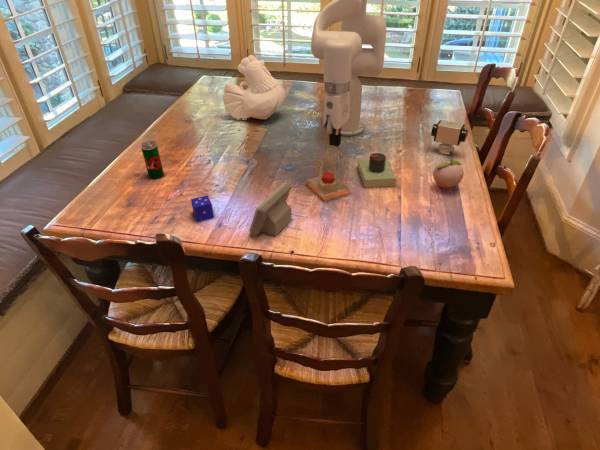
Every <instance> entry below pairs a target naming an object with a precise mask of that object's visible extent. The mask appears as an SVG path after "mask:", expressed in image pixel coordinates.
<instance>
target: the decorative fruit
mask: <svg viewBox="0 0 600 450" xmlns="http://www.w3.org/2000/svg"><path fill="white" fill-rule="evenodd" d="M461 165H462V166H463V163H462V162H460V161H459V160H453V159H450V160H448V161H446V162H441V163H439V164H437V165H436V166H435V167H434V169H433V171H432V177H433V180H434V182H435V183H436V184H437V185H438V186H439V187H441V188H443V189H446V188H447V189H448V188H453V187H456V186H457V185H459V184H460V183H461V182H462V180H463V178H464V173H465V171H464V169H463V167H462V166H461Z"/></svg>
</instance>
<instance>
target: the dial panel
mask: <svg viewBox="0 0 600 450" xmlns="http://www.w3.org/2000/svg"><path fill="white" fill-rule="evenodd" d="M357 169H358V173H359V175H360V178H361V182H362V186H363V187H364V188H385V187H395V186H396V181H397V177H396V175H395V173H394V171H393V168H392V166H391V163H390V162H389V160H388V159H387V158H386V161H385V170H384V171H383V172H380V173H375V172H372V171H370V170H369V159H358V162H357Z"/></svg>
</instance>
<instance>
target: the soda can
mask: <svg viewBox="0 0 600 450" xmlns="http://www.w3.org/2000/svg"><path fill="white" fill-rule="evenodd" d="M140 148H141V152H142V156H143V160H144V164H145V167H146V171H147V176H148V177H149V178H150V179H152V180H153V179H154V180H156V179H161V178H162V177H163V175H164V174H165V173H164V169H163V163H162V160H161V155H160V151H159V146H158V144H156V142H155V141H154V140H147V141H144V142H142V144H141V147H140Z"/></svg>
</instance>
